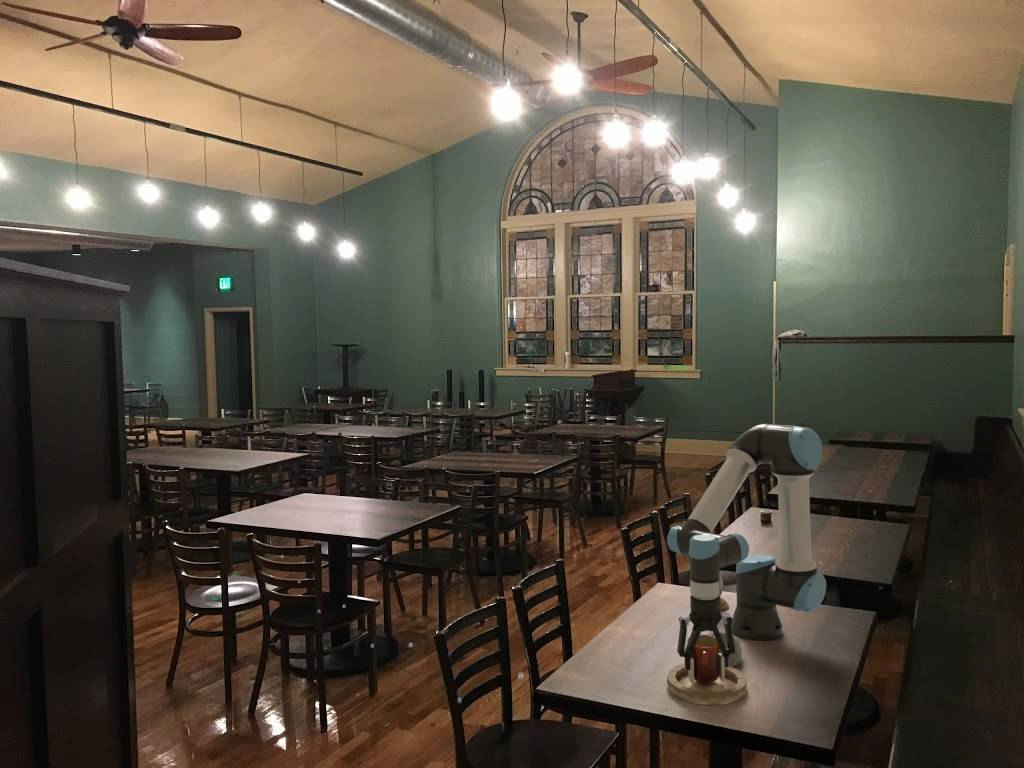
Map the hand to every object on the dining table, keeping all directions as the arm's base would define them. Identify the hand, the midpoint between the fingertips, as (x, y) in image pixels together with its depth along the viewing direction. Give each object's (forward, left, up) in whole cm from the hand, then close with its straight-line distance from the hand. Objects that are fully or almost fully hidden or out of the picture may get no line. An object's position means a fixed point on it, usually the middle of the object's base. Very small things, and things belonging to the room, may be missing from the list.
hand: (706, 680), depth 220 cm
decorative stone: (-10, -16, -2) cm, 19 cm away
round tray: (0, 0, -2) cm, 2 cm away
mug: (0, 0, 0) cm, 1 cm away
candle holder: (-20, -59, -2) cm, 62 cm away
